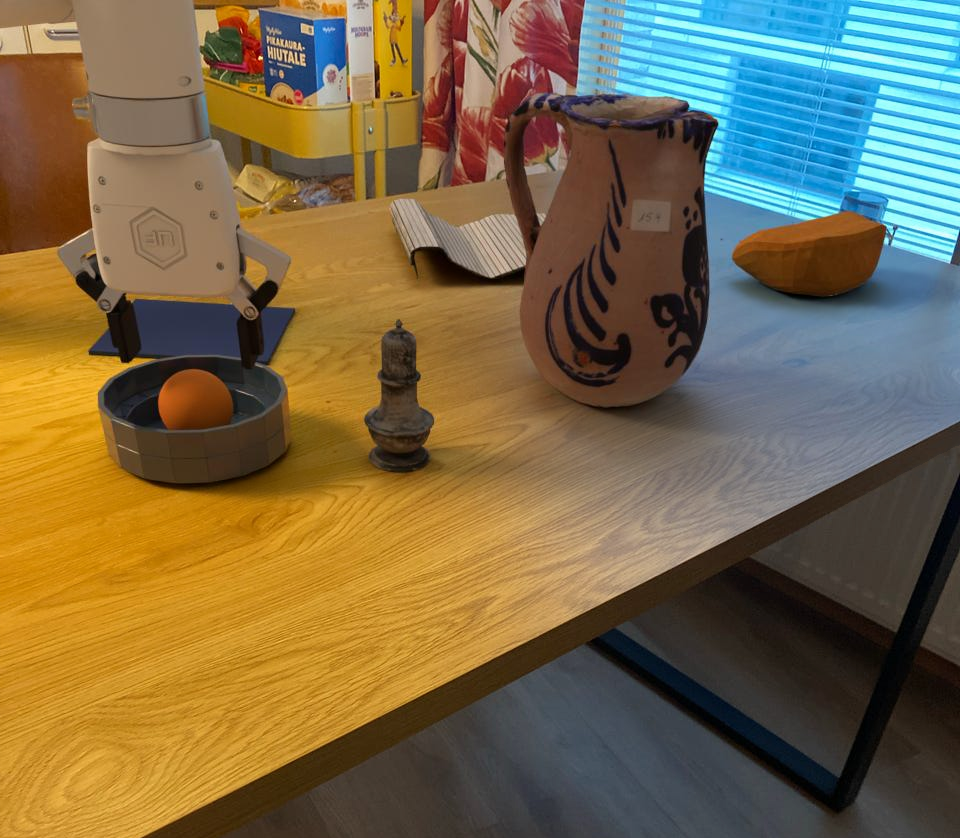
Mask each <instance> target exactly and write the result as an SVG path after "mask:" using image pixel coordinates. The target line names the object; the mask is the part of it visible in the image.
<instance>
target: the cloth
mask: <svg viewBox="0 0 960 838" xmlns="http://www.w3.org/2000/svg"><path fill="white" fill-rule="evenodd" d="M131 304H133V305H134V310H135V315H136V320H137V326H138V331H139V336H140V341H141V350H140V352H139V353H138V354H137V355H136V357H135V358H144V359H145V358H146V359H147V358H148V359H162V358H169V357H176V356H183V355H223V356H230V357H237V358H241V355H240V347H239V339H238V331H237V320H238V318H239V317H240V312H239V311H238V310H237V308H236V307H235V306H234V305H233V304H232V303H217V302H216V303H215V302H214V303H213V302H197V301H185V300H183V301H182V300H165V299H148V298H134V300H133V301H131ZM295 313H296V308H295V307H283V306H281V307H280V306H268V305H267V306H266V307H265V308H264V309H263V310H262V311H261V318H262V327H263V336H264V353H263V355H259V357H258V359H257V361H256V362H257V363H260V364H263V365H266V366H268V365H269V363H270V361H271V359H272V358H273V355H274V353H275V352H276V350H277V348H278V347H279V345H280V342H281V340H282V338H283V336H284V334H285V332H286V330H287V328H288V327H289V325H290V323H291V320H292V319H293V317H294V315H295ZM87 352H88V355H97V356H99V355H100V356H113V357H120V356H119V351H118V348H114V347H113V344H112V340H111V335H110V330H109V327H108V328H107V330H106V331H104V332H103V334H102V335H101V336H100V337H99V338H98V339H97V340H96V341H95V342H94V343H93V344H92V346H90V348H89V349H88V350H87Z"/></svg>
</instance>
